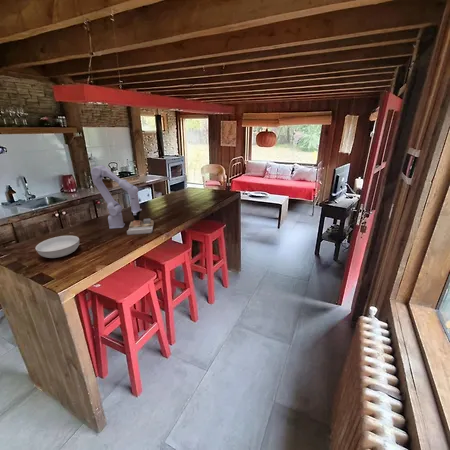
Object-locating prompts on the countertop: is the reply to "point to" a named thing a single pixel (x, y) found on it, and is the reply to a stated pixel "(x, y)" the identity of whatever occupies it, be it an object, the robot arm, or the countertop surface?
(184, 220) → the countertop surface
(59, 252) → the serving bowl
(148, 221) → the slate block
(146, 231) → the grey tray
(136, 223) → the terracotta block
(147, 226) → the birch board
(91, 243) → the countertop surface
